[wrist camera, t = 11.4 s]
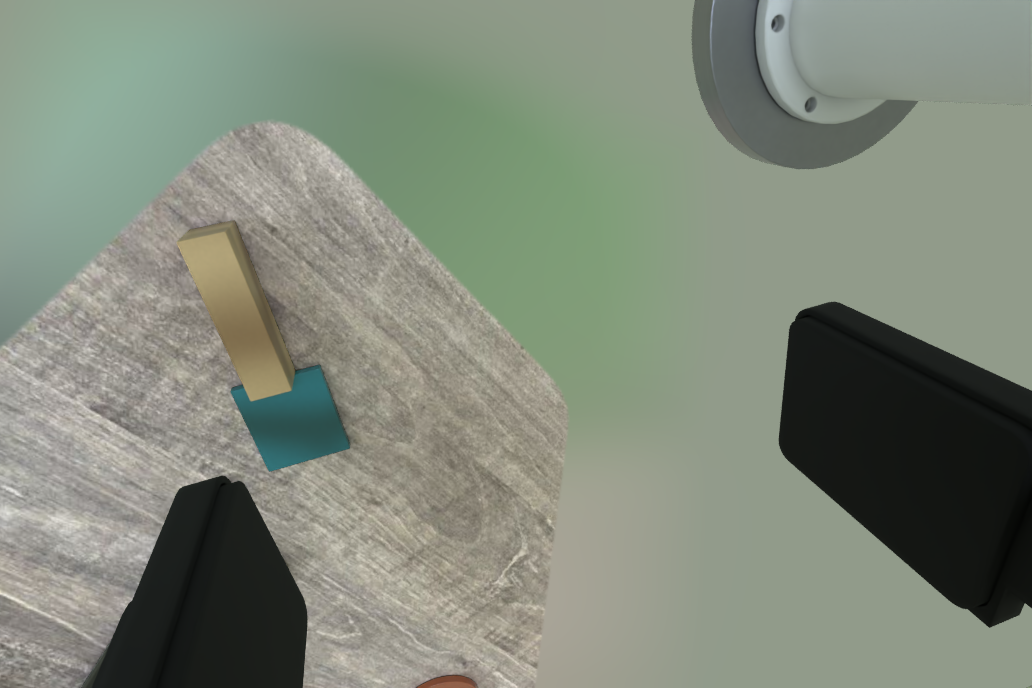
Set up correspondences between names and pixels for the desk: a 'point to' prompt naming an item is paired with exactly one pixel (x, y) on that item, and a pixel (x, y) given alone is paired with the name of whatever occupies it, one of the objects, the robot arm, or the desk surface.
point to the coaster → (449, 682)
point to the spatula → (261, 354)
